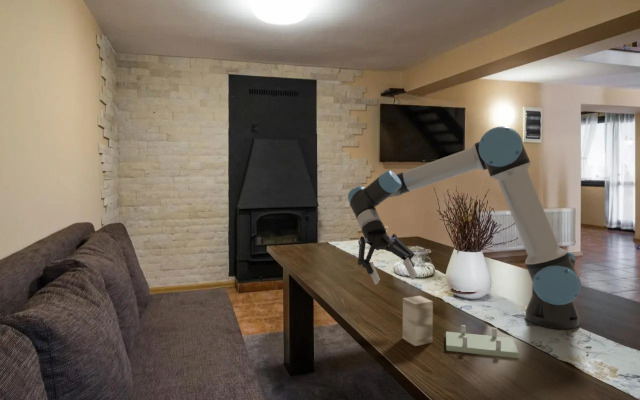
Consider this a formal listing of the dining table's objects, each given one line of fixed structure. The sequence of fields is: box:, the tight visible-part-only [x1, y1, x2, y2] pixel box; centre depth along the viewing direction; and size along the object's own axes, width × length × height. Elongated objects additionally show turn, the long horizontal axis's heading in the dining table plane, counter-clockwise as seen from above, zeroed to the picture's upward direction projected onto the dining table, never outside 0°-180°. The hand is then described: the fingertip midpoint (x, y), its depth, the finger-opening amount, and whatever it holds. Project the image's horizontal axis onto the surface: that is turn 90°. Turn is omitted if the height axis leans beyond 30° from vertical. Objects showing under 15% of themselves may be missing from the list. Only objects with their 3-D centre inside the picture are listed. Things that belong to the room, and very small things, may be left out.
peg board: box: [445, 324, 520, 359], centre depth 116 cm, size 18×10×4 cm, turn 74°
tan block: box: [402, 295, 434, 347], centre depth 120 cm, size 6×6×12 cm
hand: (396, 279), depth 129 cm, fingers open, 13 cm apart
